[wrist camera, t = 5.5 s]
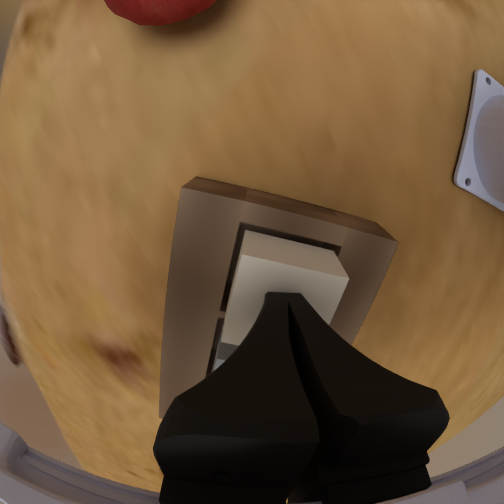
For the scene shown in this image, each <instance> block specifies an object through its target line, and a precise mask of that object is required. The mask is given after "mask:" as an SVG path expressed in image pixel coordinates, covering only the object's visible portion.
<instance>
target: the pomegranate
mask: <svg viewBox="0 0 504 504" xmlns="http://www.w3.org/2000/svg"><path fill="white" fill-rule="evenodd" d="M104 1H105V3H106V5H107V6H108V8H109V9H110V10H111V11H112V12H113V13H114V14H116V15H118V16H121V17H123V18H125V19H128V20H130V21H132V22H134V23H136V24H139V25H166V24H170V23H174V22H178V21H182V20H186V19H188V18H190V17H192V16H194V15H196V14H198V13H200V12H202V11H204V10H206V9H208V8H209V7H211V6H212V5H213V4H214V3H215V2H216V1H217V0H104Z"/></svg>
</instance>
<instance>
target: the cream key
mask: <svg viewBox="0 0 504 504" xmlns="http://www.w3.org/2000/svg"><path fill="white" fill-rule="evenodd" d="M348 281H349V277H348V275H347V273H346V272H345V270H344V268H343V266H342V265H341V263H340V261H339V259H338V258H337V256H336V254H335V252H334V251H332V250H328V249H324V248H320V247H315V246H311V245H307V244H303V243H299V242H295V241H291V240H287V239H282V238H278V237H274V236H270V235H265V234H261V233H257V232H253V231H248V230H245V233H244V237H243V241H242V246H241V250H240V254H239V258H238V262H237V266H236V271H235V275H234V279H233V283H232V287H231V291H230V296H229V300H228V304H227V309H226V315H225V320H224V326H223V332H222V338H221V342H224V343H229V344H234V345H240V344H241V342H242V341H243V340H244V338H245V337H246V336H247V334H248V333H249V331H250V329H251V328H252V326H253V325H254V323H255V321H256V319H257V317H258V315H259V313H260V311H261V309H262V306H263V303H264V299H265V294H266V293H267V292H286V293H301V294H302V295H303V296H304V297H305V299H306V300H307V301H308V302H309V303H310V305H311V306H312V307H313V308H314V309H315V311H316V312H317V313H318V314H319V315H320V316H321V317H322V318H323V320H324V321H325V322H326V323H327V324H328V325H329V324H330V322H331V320H332V318H333V315H334V313H335V311H336V309H337V306H338V304H339V302H340V300H341V297H342V295H343V292H344V290H345V288H346V285H347V283H348Z"/></svg>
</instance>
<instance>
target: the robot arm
mask: <svg viewBox="0 0 504 504" xmlns="http://www.w3.org/2000/svg"><path fill="white" fill-rule="evenodd" d="M486 80H487V82H486ZM466 179H467V184H465V180H466ZM454 182H455V184H456V185H457V186H459V187H461V188H463V189H464V190H466V191H468V192H470V193H472V194H474V195H476V196H477V197H479V198H481V199H483V200H484V201H486V202H488V203H490V204H491V205H493V206H495V207H496V208H498V209H500V210H501V211H503V212H504V87H503V86H502V85H501V84H500V83H498V82H497V81H496V80H495V79H494V78H492V77H491V76H490V75H489V74H487V73H486V72H485V71H483V70H476V71H475V75H474V83H473V90H472V97H471V103H470V109H469V114H468V120H467V125H466V129H465V134H464V139H463V143H462V147H461V151H460V155H459V159H458V163H457V166H456V170H455V174H454ZM449 419H450V418H449V413H448V411H447V409H446V407H445V405H444V403H443V401H442V399H441V397H440V395H439V394H438V392H437V390H434V389H432V388H429V387H426V386H423V385H421V384H418V383H415V382H413V381H410V380H408V379H406V378H403V377H401V376H399V375H397V374H395V373H393V372H391V371H389V370H387V369H386V368H384V367H382V366H380V365H379V364H377V363H376V362H374V361H372V360H371V359H369V358H368V357H366V356H365V355H363V354H362V353H360V352H359V351H358V350H357V349H355V348H354V347H353V346H351V345H350V344H349V343H348V342H346V341H345V340H344V339H343V338H342V337H341V336H340V335H339V334H337V333H336V332H335V331H334V330H333V329H332V328H331V327H330V326H329V325H328V324H327V323H326V322H325V321H324V320H323V318H322V317H321V316H320V315H319V314H318V313H317V312H316V311H315V309H314V308H313V307H312V306H311V305H310V303H309V302H308V301H307V300H306V299H305V297H304V296H303V295H302V294H301V293H286V292H267V293H266V294H265V299H264V303H263V306H262V309H261V311H260V313H259V315H258V317H257V319H256V321H255V323H254V325H253V326H252V328H251V329H250V331H249V333H248V334H247V336H246V337H245V338H244V340H243V341H242V342H241V344H240V345H239V346H238V347H237V349H236V350H235V351H234V352H233V353H232V354H231V355H230V356H229V357H228V358H227V359H226V360H225V361H224V362H223V363H222V364H221V365H220V366H219V367H218V368H217V369H215V370H214V371H213V372H212V373H211V374H209V375H208V376H207V377H206V378H204V379H203V380H202V381H200V382H199V383H198V384H196V385H194V386H193V387H191V388H190V389H188V390H186V391H185V392H183V393H181V394H180V395H178V396H176V397H175V398H174V400H173V401H172V403H171V405H170V406H169V408H168V410H167V411H166V413H165V415H164V417H163V419H162V422H161V424H160V426H159V429H158V432H157V436H156V439H155V443H154V446H153V452H154V456H155V458H156V460H157V462H158V465H159V467H160V469H161V471H162V473H163V475H164V478H163V482H162V487H161V491H160V493H158V492H154V491H149V490H145V489H141V488H137V487H133V486H129V485H126V484H122V483H119V482H115V481H112V480H109V479H106V478H103V477H100V476H97V475H94V474H91V473H88V472H86V471H83V470H80V469H78V468H75V467H73V466H70V465H68V464H66V463H63V462H61V461H58V460H56V459H54V458H52V457H50V456H47V455H45V454H43V453H41V452H39V451H37V450H35V449H33V448H31V447H29V446H27V444H26V442H25V441H24V439H23V438H22V437H21V436H20V435H19V434H18V433H17V432H15V431H14V430H13V429H11V428H10V427H8V426H6V425H5V424H3V423H1V422H0V500H1V501H2V502H4V503H5V504H286V500H287V498H288V504H504V447H502V448H500V449H498V450H496V451H494V452H492V453H491V454H488V455H486V456H484V457H482V458H480V459H478V460H475V461H473V462H471V463H469V464H466V465H464V466H462V467H459V468H457V469H454V470H451V471H449V472H446V473H443V474H441V475H438V476H435V477H432V478H430V477H429V474H428V471H427V468H426V464H428V463H429V460H430V459H429V456H428V454H427V450H428V449H429V448H430V447H431V446H432V445H433V444H434V443H435V441H436V440H437V439H438V438H439V437H440V436H441V434H442V433H443V432H444V430H445V429H446V427H447V425H448V422H449Z"/></svg>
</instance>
